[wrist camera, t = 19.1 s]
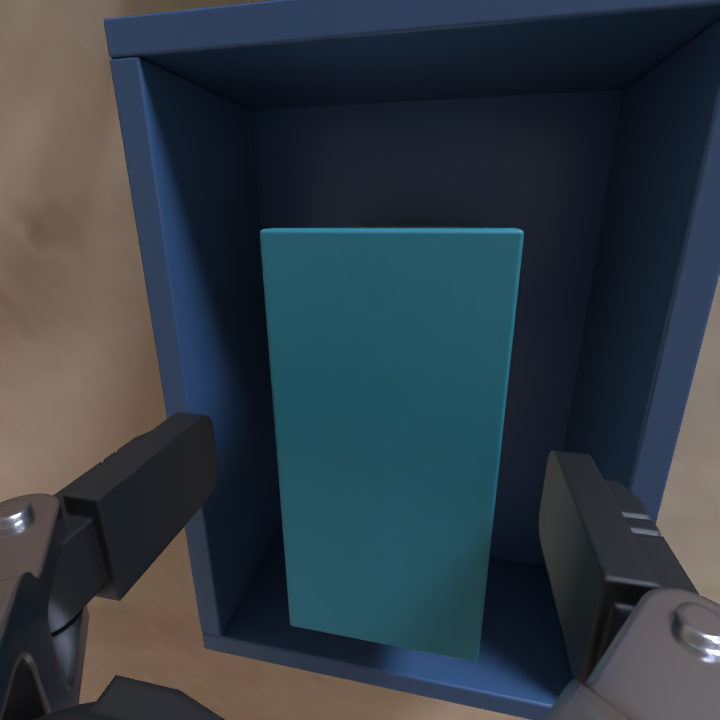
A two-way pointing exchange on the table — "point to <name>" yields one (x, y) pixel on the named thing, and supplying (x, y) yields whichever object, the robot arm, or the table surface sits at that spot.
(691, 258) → the bin
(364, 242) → the container
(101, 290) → the table surface
